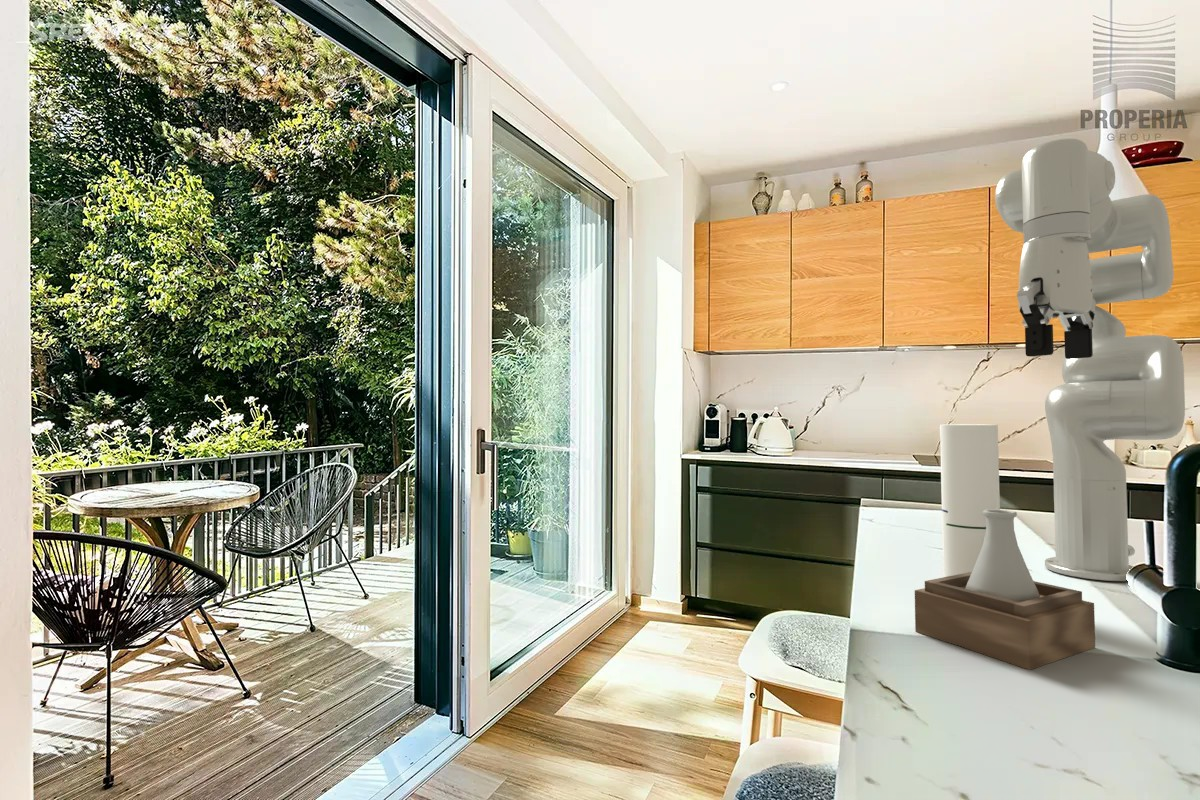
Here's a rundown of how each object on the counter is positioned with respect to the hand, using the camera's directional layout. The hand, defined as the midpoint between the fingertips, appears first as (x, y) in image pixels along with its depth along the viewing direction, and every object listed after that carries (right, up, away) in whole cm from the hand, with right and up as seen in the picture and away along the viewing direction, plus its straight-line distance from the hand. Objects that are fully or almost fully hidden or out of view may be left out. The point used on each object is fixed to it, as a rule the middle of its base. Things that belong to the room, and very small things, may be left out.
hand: (1059, 356), depth 86 cm
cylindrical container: (-11, -35, +3) cm, 36 cm away
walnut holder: (-16, -34, -13) cm, 40 cm away
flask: (-16, -29, -12) cm, 36 cm away
